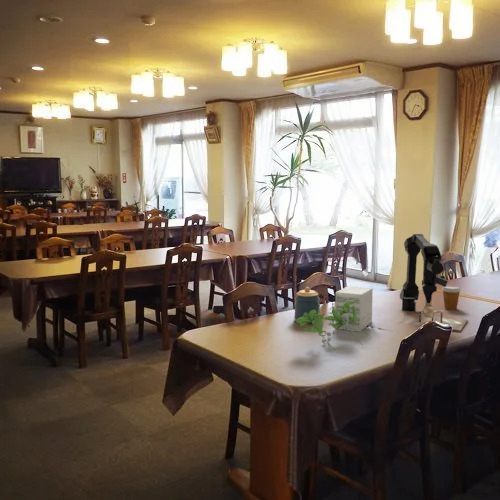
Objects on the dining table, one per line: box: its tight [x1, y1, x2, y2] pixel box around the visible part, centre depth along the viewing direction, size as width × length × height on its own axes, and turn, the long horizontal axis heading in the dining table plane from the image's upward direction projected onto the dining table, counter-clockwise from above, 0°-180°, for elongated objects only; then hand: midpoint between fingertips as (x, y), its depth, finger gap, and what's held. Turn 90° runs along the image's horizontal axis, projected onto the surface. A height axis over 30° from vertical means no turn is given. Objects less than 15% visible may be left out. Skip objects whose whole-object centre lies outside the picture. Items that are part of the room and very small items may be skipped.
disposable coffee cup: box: [441, 285, 461, 311], centre depth 298 cm, size 10×10×12 cm
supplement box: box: [334, 285, 373, 333], centre depth 263 cm, size 17×13×18 cm
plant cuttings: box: [295, 301, 371, 352], centre depth 231 cm, size 35×17×22 cm
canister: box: [293, 286, 321, 325], centre depth 273 cm, size 13×13×18 cm
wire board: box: [396, 309, 469, 333], centre depth 268 cm, size 30×22×7 cm
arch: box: [423, 296, 434, 318], centre depth 264 cm, size 4×8×10 cm, turn 164°
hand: (428, 302), depth 264 cm, fingers closed on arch, 2 cm apart
